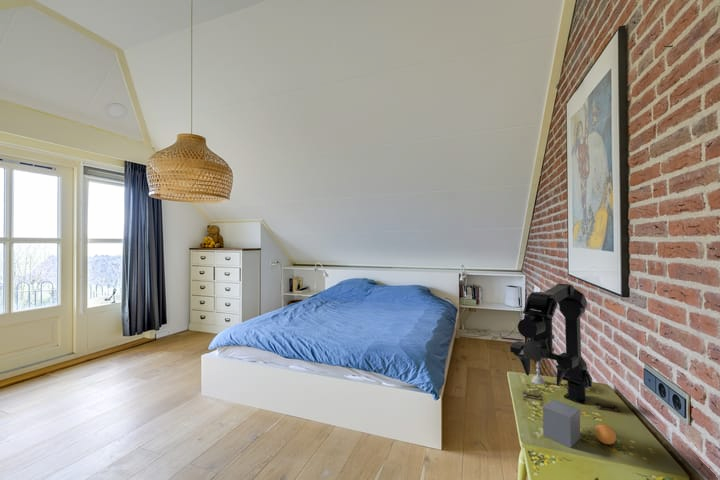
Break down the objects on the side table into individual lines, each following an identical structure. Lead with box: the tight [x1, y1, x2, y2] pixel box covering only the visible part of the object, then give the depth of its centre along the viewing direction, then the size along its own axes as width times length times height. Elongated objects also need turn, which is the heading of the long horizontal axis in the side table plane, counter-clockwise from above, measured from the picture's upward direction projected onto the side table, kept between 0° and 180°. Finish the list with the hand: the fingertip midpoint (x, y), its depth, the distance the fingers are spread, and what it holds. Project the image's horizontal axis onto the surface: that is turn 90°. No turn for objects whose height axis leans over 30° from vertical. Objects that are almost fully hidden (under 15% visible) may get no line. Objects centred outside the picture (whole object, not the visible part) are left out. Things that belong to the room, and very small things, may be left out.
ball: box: [594, 424, 617, 445], centre depth 92 cm, size 5×5×5 cm
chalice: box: [528, 338, 546, 386], centre depth 132 cm, size 7×7×18 cm
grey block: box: [542, 398, 581, 449], centre depth 95 cm, size 7×7×9 cm
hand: (542, 380), depth 101 cm, fingers open, 9 cm apart
